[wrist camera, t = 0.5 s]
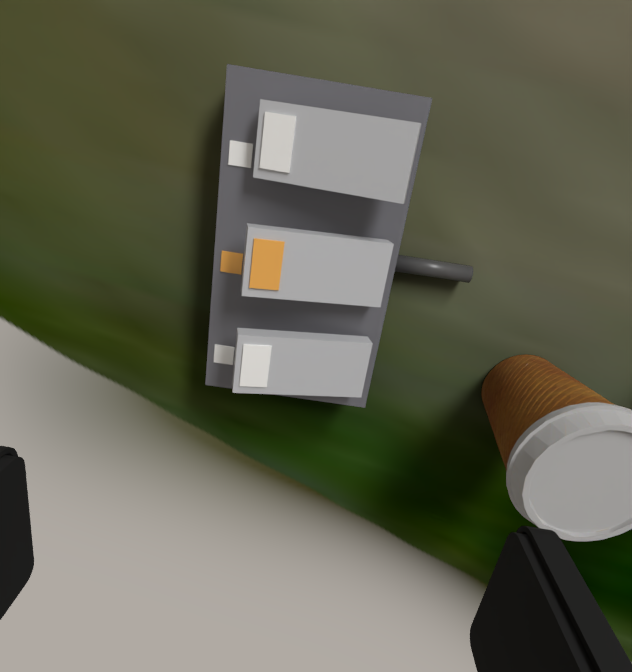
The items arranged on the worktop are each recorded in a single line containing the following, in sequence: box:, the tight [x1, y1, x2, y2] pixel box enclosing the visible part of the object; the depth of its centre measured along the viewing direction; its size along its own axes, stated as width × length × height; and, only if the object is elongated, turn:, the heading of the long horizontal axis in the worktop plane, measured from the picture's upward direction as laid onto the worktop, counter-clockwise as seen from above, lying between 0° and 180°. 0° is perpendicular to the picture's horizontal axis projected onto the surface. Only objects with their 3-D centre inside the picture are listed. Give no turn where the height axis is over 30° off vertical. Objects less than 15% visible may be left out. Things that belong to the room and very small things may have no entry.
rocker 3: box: [232, 328, 373, 397], centre depth 32 cm, size 9×4×1 cm, turn 83°
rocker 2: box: [241, 223, 394, 307], centre depth 30 cm, size 9×4×1 cm, turn 83°
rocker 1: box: [253, 99, 421, 204], centre depth 27 cm, size 9×4×1 cm, turn 80°
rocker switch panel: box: [205, 64, 473, 408], centre depth 33 cm, size 18×21×4 cm
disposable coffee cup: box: [481, 355, 632, 541], centre depth 33 cm, size 10×10×12 cm
